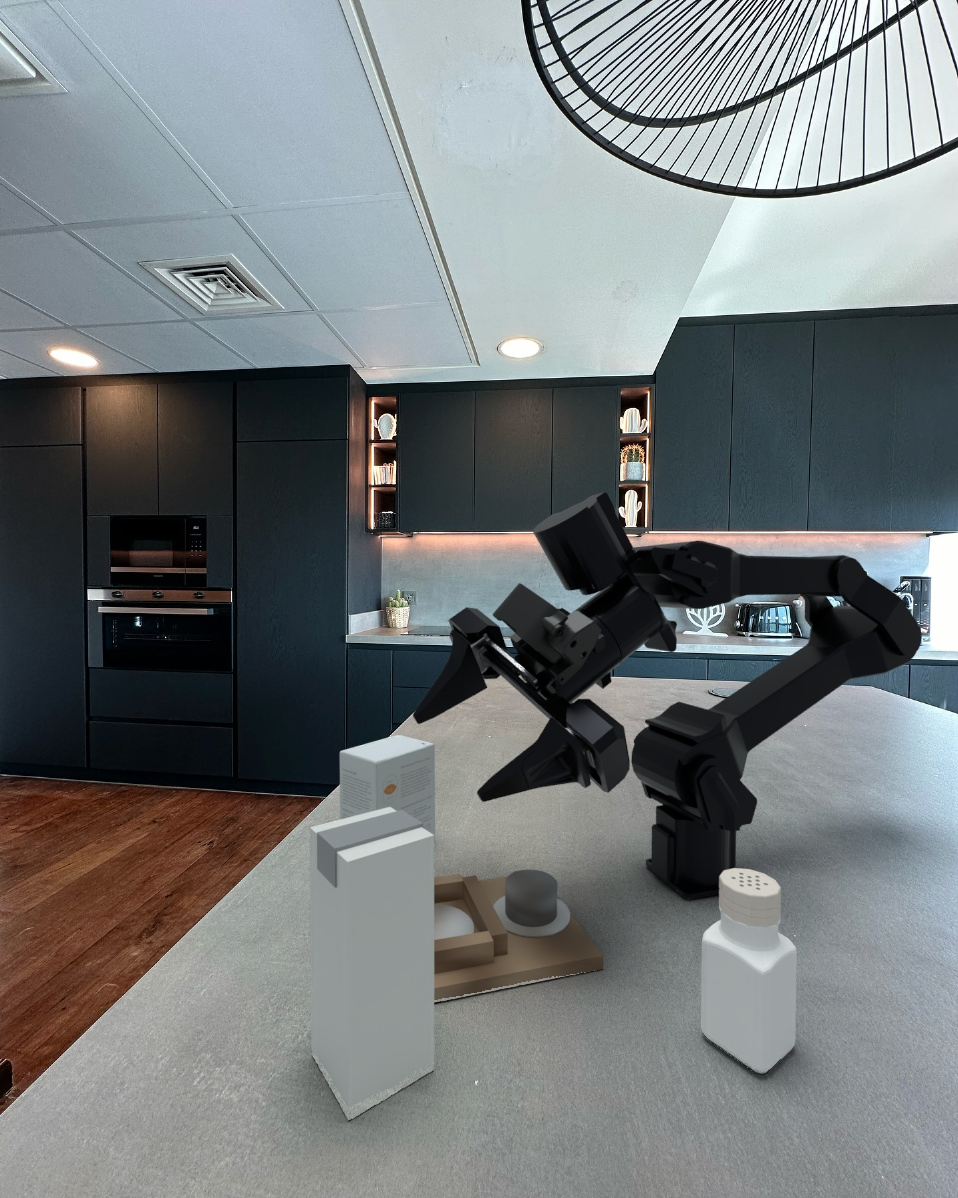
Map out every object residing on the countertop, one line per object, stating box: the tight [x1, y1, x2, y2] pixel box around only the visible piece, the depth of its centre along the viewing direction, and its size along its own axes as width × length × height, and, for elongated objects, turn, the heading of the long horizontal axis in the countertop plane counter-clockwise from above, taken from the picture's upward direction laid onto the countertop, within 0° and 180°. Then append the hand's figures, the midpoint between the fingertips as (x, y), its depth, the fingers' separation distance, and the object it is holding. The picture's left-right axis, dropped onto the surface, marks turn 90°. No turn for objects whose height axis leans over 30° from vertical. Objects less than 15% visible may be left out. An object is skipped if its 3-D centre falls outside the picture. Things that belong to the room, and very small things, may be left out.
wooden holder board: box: [434, 869, 604, 1000], centre depth 43 cm, size 16×12×4 cm
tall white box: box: [309, 807, 435, 1107], centre depth 32 cm, size 5×5×13 cm
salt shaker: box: [700, 867, 798, 1072], centre depth 33 cm, size 4×4×10 cm
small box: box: [339, 734, 436, 844], centre depth 57 cm, size 8×6×10 cm
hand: (444, 755), depth 43 cm, fingers open, 9 cm apart
